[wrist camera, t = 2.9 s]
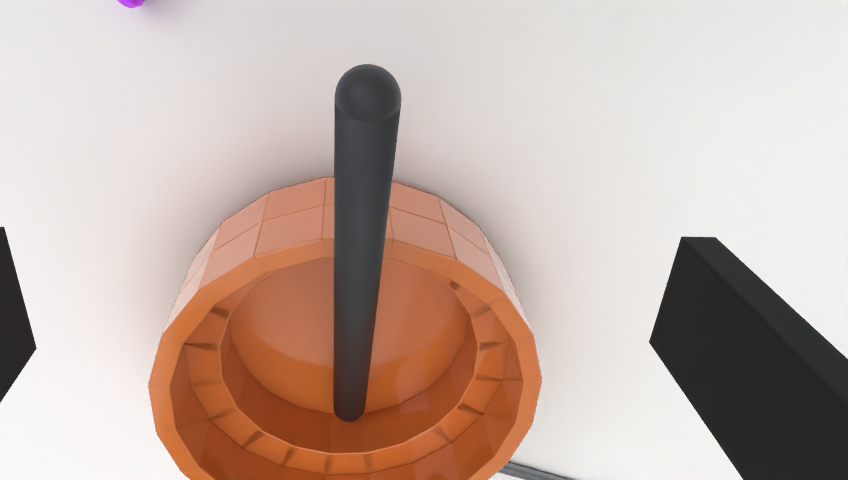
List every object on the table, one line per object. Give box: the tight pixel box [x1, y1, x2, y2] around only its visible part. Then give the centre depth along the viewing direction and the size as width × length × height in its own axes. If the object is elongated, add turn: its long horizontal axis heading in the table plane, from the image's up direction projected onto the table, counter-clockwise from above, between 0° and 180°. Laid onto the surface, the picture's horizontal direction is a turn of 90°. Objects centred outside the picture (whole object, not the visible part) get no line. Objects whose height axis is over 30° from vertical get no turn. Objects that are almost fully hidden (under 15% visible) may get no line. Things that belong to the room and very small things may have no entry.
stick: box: [333, 64, 401, 422], centre depth 24 cm, size 20×2×10 cm, turn 175°
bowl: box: [148, 177, 542, 480], centre depth 28 cm, size 16×16×6 cm
